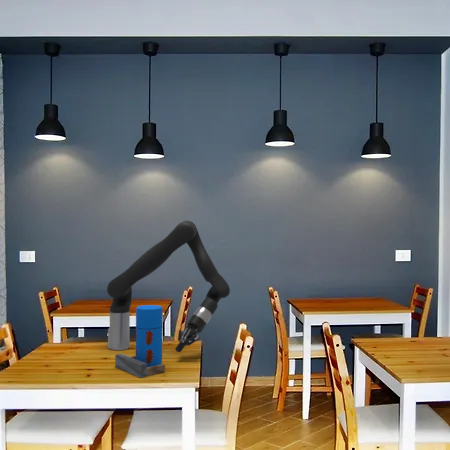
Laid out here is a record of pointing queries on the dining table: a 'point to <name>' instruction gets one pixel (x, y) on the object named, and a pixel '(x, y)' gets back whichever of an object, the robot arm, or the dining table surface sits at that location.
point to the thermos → (149, 334)
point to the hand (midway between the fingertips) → (177, 351)
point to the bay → (137, 366)
